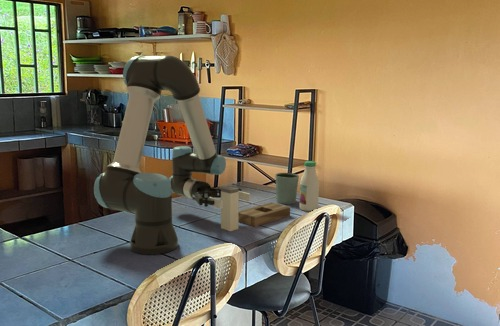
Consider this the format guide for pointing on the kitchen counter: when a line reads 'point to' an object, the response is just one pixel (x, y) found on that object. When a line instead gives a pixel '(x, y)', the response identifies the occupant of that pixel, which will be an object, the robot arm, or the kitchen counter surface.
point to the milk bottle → (309, 188)
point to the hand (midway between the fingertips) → (236, 200)
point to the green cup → (286, 188)
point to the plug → (229, 208)
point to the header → (263, 214)
